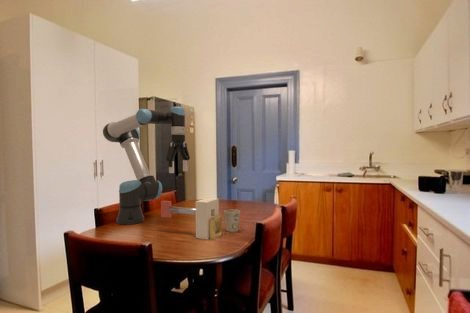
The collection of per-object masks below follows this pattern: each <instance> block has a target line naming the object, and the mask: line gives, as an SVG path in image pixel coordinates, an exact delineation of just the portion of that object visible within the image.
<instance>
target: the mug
mask: <svg viewBox="0 0 470 313" xmlns="http://www.w3.org/2000/svg"><path fill="white" fill-rule="evenodd" d="M223 214H224V222H225V229H226V231H227V232H228V233H237V232H238V231H239V228H240V219H241V210H239V209H233V208H232V209H225V210H224V211H223Z"/></svg>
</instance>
